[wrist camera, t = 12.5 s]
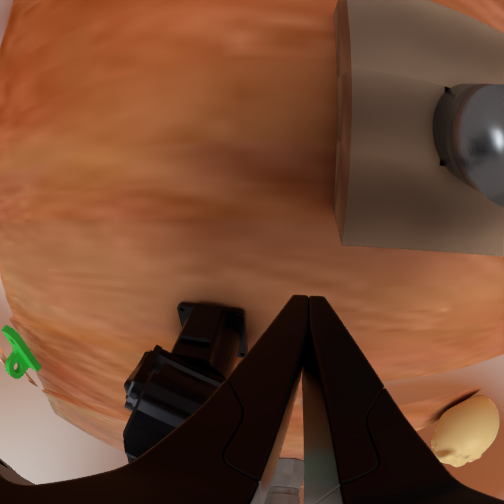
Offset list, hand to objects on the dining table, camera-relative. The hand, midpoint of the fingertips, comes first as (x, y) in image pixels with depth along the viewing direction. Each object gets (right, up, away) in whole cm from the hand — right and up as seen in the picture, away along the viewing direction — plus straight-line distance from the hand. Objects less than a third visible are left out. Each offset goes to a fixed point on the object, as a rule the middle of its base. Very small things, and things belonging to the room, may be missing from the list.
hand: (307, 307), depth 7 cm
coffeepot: (+7, -45, +40) cm, 61 cm away
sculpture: (+33, -24, +23) cm, 47 cm away
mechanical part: (-55, -21, +39) cm, 71 cm away
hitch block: (+11, +10, +7) cm, 17 cm away
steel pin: (+11, +10, +7) cm, 16 cm away
